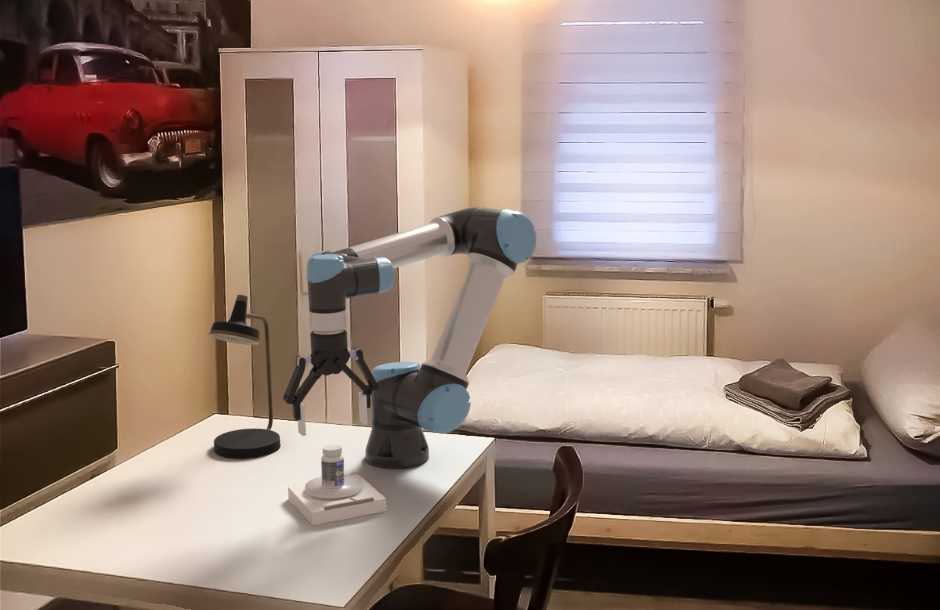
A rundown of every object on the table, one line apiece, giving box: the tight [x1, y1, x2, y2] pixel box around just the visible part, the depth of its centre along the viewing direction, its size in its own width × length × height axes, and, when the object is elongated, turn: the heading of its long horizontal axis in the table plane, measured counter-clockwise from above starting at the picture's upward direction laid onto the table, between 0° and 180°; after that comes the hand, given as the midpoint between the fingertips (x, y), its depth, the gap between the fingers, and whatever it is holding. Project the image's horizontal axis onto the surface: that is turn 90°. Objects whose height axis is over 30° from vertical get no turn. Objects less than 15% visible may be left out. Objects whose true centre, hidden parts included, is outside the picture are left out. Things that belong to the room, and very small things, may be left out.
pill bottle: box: [320, 444, 345, 489], centre depth 220 cm, size 5×5×8 cm
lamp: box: [208, 294, 282, 460], centre depth 254 cm, size 16×22×38 cm
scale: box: [287, 473, 387, 526], centre depth 220 cm, size 16×16×4 cm
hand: (333, 428), depth 218 cm, fingers open, 13 cm apart
